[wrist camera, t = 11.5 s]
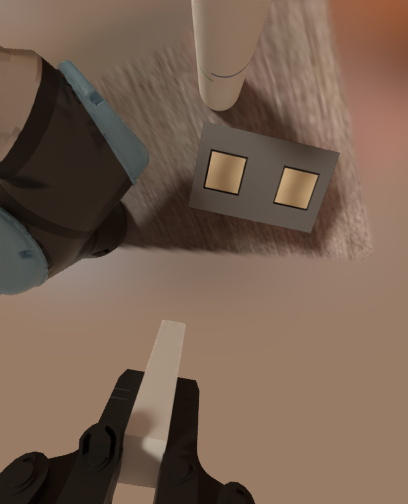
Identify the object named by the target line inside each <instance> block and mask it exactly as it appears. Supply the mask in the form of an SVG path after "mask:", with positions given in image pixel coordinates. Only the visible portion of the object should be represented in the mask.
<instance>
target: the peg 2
mask: <svg viewBox="0 0 408 504" xmlns="http://www.w3.org/2000/svg"><path fill="white" fill-rule="evenodd" d="M317 177H318V175H315V174H310V173H306V172H301V171H297V170H293V169H288V168H283V171H282V174H281V178H280V181H279V184H278V188H277V191H276V194H275V198H274V201H273V202H278V203H282V204H287V205H291V206H296V207H300V208H305V209H306V208H307V205H308V203H309V200H310V197H311V194H312V191H313V188H314V185H315V182H316V180H317Z"/></svg>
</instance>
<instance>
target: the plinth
mask: <svg viewBox="0 0 408 504" xmlns="http://www.w3.org/2000/svg"><path fill="white" fill-rule="evenodd" d="M212 151H213V152H217V153H222V154H226V155H231V156H235V157H240V158H244V159H246V161H245V165H244V169H243V173H242V177H241V181H240V185H239V189H238V193H237V194H236V193H227V192H223V191H218V190H213V189H209V188H204V186H205V181H206V176H207V171H208V166H209V161H210V157H211V156H212ZM339 155H340V153H338V152H334V151H330V150H325V149H321V148H317V147H313V146H308V145H304V144H300V143H295V142H291V141H287V140H282V139H278V138H274V137H269V136H265V135H261V134H257V133H252V132H248V131H244V130H239V129H235V128H231V127H226V126H222V125H218V124H213V123H209V122H205V121H204V123H203V129H202V134H201V139H200V145H199V150H198V156H197V161H196V167H195V172H194V178H193V183H192V189H191V194H190V200H189V205H188V207H191V208H196V209H200V210H205V211H210V212H214V213H219V214H224V215H228V216H233V217H238V218H242V219H247V220H252V221H256V222H261V223H266V224H271V225H275V226H280V227H285V228H289V229H294V230H299V231H303V232H308V233H311V231H312V228H313V225H314V223H315V220H316V217H317V215H318V212H319V209H320V206H321V204H322V201H323V198H324V196H325V193H326V190H327V187H328V185H329V182H330V179H331V177H332V174H333V171H334V168H335V166H336V163H337V160H338V157H339ZM283 168H288V169H293V170H297V171H301V172H306V173H310V174H315V175H318V177H317V180H316V182H315V185H314V188H313V191H312V194H311V197H310V200H309V203H308V205H307V208H306V209H305V208H300V207H296V206H291V205H287V204H286V205H282V204H278V203H273V201H274V198H275V194H276V191H277V188H278V184H279V181H280V178H281V174H282V171H283Z"/></svg>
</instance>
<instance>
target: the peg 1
mask: <svg viewBox="0 0 408 504" xmlns="http://www.w3.org/2000/svg"><path fill="white" fill-rule="evenodd" d="M245 161H246V159H244V158H240V157H235V156H231V155H226V154H222V153H217V152H213V151H212V156H211V161H210V166H209V171H208V176H207V181H206V186H205V187H209V188H213V189H218V190H223V191H227V192H232V193H236V194H237V193H238V189H239V185H240V181H241V177H242V173H243V169H244V165H245Z"/></svg>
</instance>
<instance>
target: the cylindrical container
mask: <svg viewBox="0 0 408 504" xmlns="http://www.w3.org/2000/svg"><path fill="white" fill-rule="evenodd" d="M271 2H272V0H192V13H193V24H194V35H195V46H196V57H197V68H198V79H199V90H200V95H201V98H202V100H203V102H204V103H205V104H206V105H207V106H208V107H209V108H210V109H212V110H215V111H224V110H227V109H229V108H230V107H232V106H233V105H234V104H235V102H236V101H237V99H238V97H239V94H240V91H241V88H242V85H243V83H244V80H245V77H246V74H247V71H248V68H249V65H250V63H251V60H252V57H253V54H254V51H255V48H256V45H257V42H258V39H259V36H260V34H261V31H262V28H263V25H264V22H265V19H266V16H267V13H268V10H269V8H270V5H271Z"/></svg>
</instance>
